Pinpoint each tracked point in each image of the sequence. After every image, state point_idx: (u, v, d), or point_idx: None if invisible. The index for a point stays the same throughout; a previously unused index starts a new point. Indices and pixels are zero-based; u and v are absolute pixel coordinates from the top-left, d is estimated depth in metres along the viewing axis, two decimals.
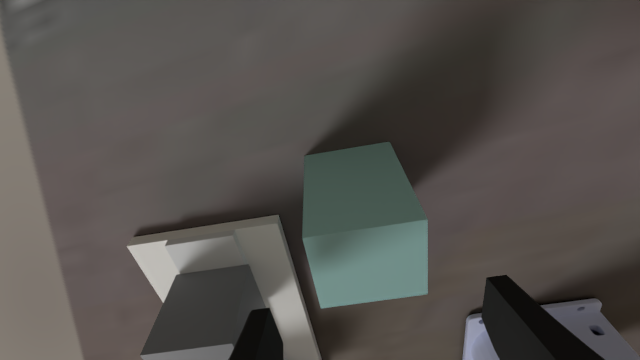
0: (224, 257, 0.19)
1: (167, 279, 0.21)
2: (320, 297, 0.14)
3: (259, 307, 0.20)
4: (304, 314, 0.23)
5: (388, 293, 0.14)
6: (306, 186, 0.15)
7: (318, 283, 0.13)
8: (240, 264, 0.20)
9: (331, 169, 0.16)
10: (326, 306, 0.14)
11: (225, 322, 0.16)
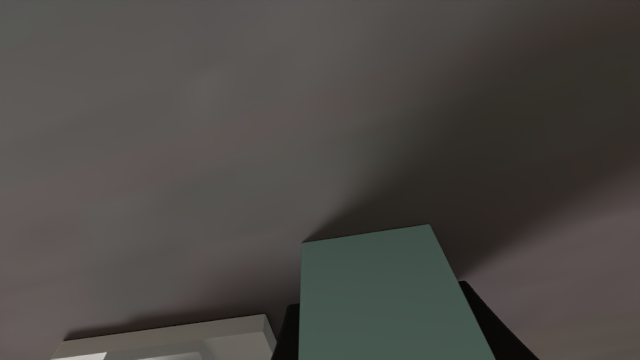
0: None
1: None
2: None
3: None
4: None
5: None
6: (304, 319, 0.09)
7: None
8: None
9: (343, 281, 0.10)
10: None
11: None
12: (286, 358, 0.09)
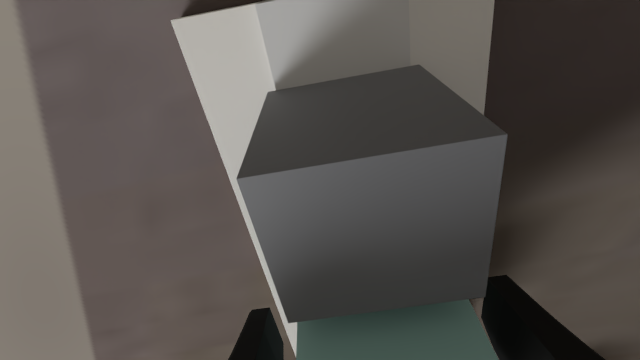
0: (375, 44, 0.09)
1: (243, 116, 0.11)
2: None
3: None
4: None
5: None
6: None
7: None
8: (403, 63, 0.09)
9: None
10: None
11: (444, 114, 0.06)
12: None
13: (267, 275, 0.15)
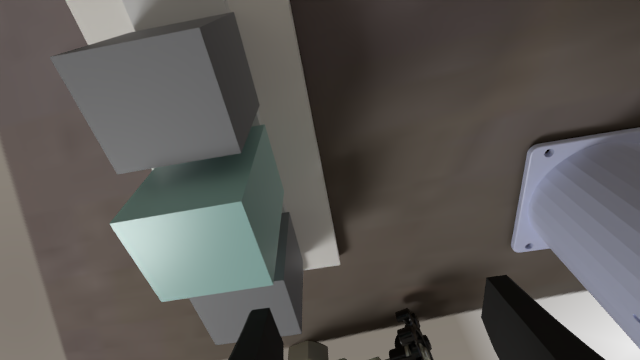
0: None
1: None
2: (156, 289, 0.13)
3: (250, 86, 0.14)
4: (312, 130, 0.17)
5: (229, 284, 0.13)
6: (154, 171, 0.14)
7: (147, 274, 0.12)
8: (221, 10, 0.13)
9: None
10: (166, 299, 0.13)
11: (191, 26, 0.10)
12: None
13: None
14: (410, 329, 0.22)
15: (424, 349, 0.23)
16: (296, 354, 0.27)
